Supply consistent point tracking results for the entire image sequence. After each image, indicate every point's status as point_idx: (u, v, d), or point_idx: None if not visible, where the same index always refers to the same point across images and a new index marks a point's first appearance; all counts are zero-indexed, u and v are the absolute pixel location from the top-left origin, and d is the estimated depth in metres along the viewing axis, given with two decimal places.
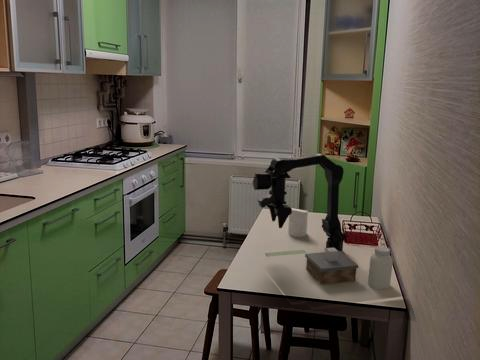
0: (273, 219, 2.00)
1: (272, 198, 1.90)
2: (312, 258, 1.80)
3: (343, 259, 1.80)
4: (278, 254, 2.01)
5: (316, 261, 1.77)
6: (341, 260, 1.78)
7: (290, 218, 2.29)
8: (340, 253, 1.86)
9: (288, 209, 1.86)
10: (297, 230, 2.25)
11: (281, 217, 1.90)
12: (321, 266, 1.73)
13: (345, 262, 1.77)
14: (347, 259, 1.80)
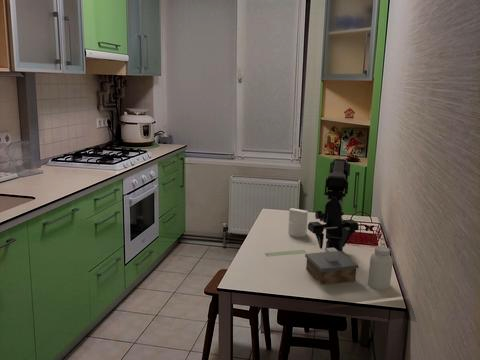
0: (342, 244, 1.80)
1: (324, 215, 1.78)
2: (312, 258, 1.80)
3: (343, 259, 1.80)
4: (278, 254, 2.01)
5: (316, 261, 1.77)
6: (341, 260, 1.78)
7: (290, 218, 2.29)
8: (340, 253, 1.86)
9: (312, 227, 1.73)
10: (297, 230, 2.25)
11: (318, 236, 1.76)
12: (321, 266, 1.73)
13: (345, 262, 1.77)
14: (347, 259, 1.80)
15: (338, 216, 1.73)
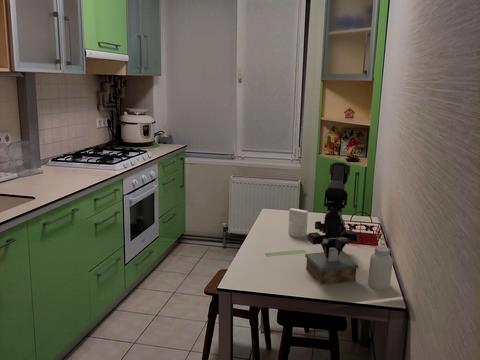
0: None
1: None
2: (312, 258, 1.80)
3: (343, 259, 1.80)
4: (278, 254, 2.01)
5: (316, 261, 1.77)
6: (341, 260, 1.78)
7: (290, 218, 2.29)
8: (340, 253, 1.86)
9: (311, 238, 1.74)
10: (297, 230, 2.25)
11: (324, 246, 1.78)
12: (321, 266, 1.73)
13: (345, 262, 1.77)
14: (347, 259, 1.80)
15: (337, 227, 1.74)
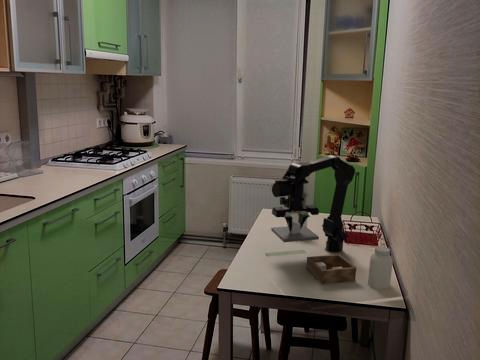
0: None
1: (287, 200, 1.93)
2: (277, 231, 1.94)
3: (306, 232, 1.94)
4: (278, 254, 2.01)
5: (280, 233, 1.91)
6: (303, 233, 1.93)
7: None
8: (304, 227, 2.00)
9: (275, 211, 1.88)
10: None
11: (287, 219, 1.92)
12: (284, 237, 1.87)
13: (307, 234, 1.91)
14: (309, 232, 1.94)
15: (299, 201, 1.88)
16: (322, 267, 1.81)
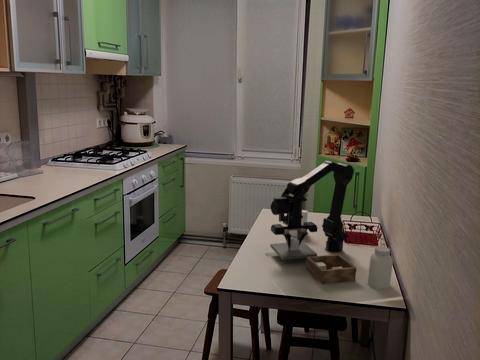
0: None
1: (286, 217, 1.95)
2: (276, 248, 1.96)
3: (304, 249, 1.96)
4: None
5: (279, 250, 1.93)
6: (302, 250, 1.95)
7: None
8: (302, 243, 2.02)
9: (274, 229, 1.90)
10: None
11: (286, 236, 1.94)
12: (282, 254, 1.89)
13: (305, 251, 1.93)
14: (308, 248, 1.96)
15: (298, 219, 1.90)
16: (322, 267, 1.81)
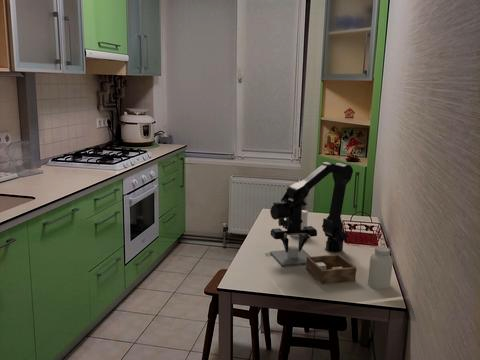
0: None
1: (285, 222, 1.96)
2: (275, 255, 1.97)
3: (304, 256, 1.97)
4: None
5: (278, 258, 1.94)
6: (301, 257, 1.95)
7: None
8: (302, 251, 2.03)
9: (274, 233, 1.90)
10: None
11: (284, 241, 1.94)
12: (282, 262, 1.90)
13: (305, 259, 1.94)
14: (307, 256, 1.97)
15: (297, 223, 1.91)
16: (322, 267, 1.81)
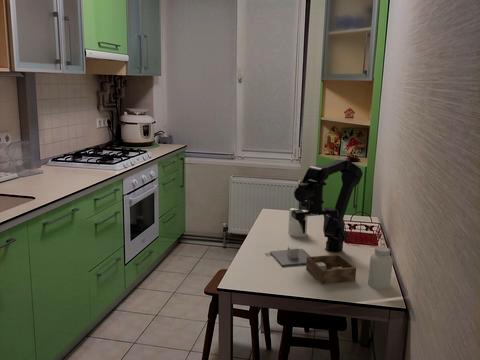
0: (323, 230, 1.96)
1: None
2: (275, 255, 1.97)
3: (304, 256, 1.97)
4: None
5: (278, 258, 1.94)
6: (301, 257, 1.95)
7: (290, 218, 2.29)
8: (302, 251, 2.03)
9: (294, 214, 1.89)
10: (297, 230, 2.25)
11: (301, 222, 1.92)
12: (282, 262, 1.90)
13: (305, 259, 1.94)
14: (307, 256, 1.97)
15: (318, 204, 1.89)
16: (322, 267, 1.81)
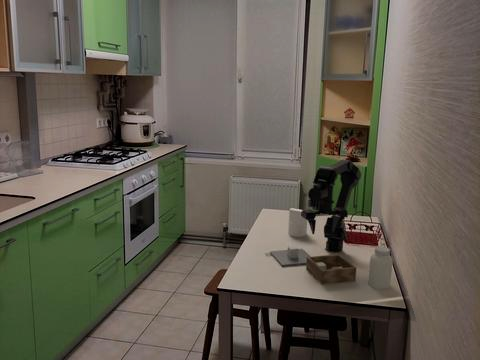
0: (333, 230, 1.96)
1: (316, 203, 1.94)
2: (275, 255, 1.97)
3: (304, 256, 1.97)
4: None
5: (278, 258, 1.94)
6: (301, 257, 1.95)
7: (290, 218, 2.29)
8: (302, 251, 2.03)
9: (305, 214, 1.89)
10: (297, 230, 2.25)
11: (311, 222, 1.92)
12: (282, 262, 1.90)
13: (305, 259, 1.94)
14: (307, 256, 1.97)
15: (329, 204, 1.89)
16: (322, 267, 1.81)
